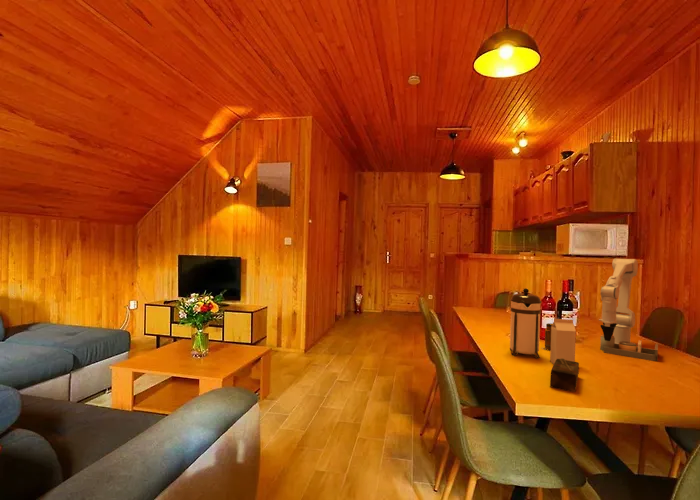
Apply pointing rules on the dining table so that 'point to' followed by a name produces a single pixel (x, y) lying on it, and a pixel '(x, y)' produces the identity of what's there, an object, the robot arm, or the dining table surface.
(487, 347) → the dining table surface
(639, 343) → the pusher plate
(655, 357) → the pusher lane
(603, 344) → the slate jar
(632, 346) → the amber jar
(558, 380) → the dark brown block
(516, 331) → the coffee press
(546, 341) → the condiment
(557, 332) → the milk carton
